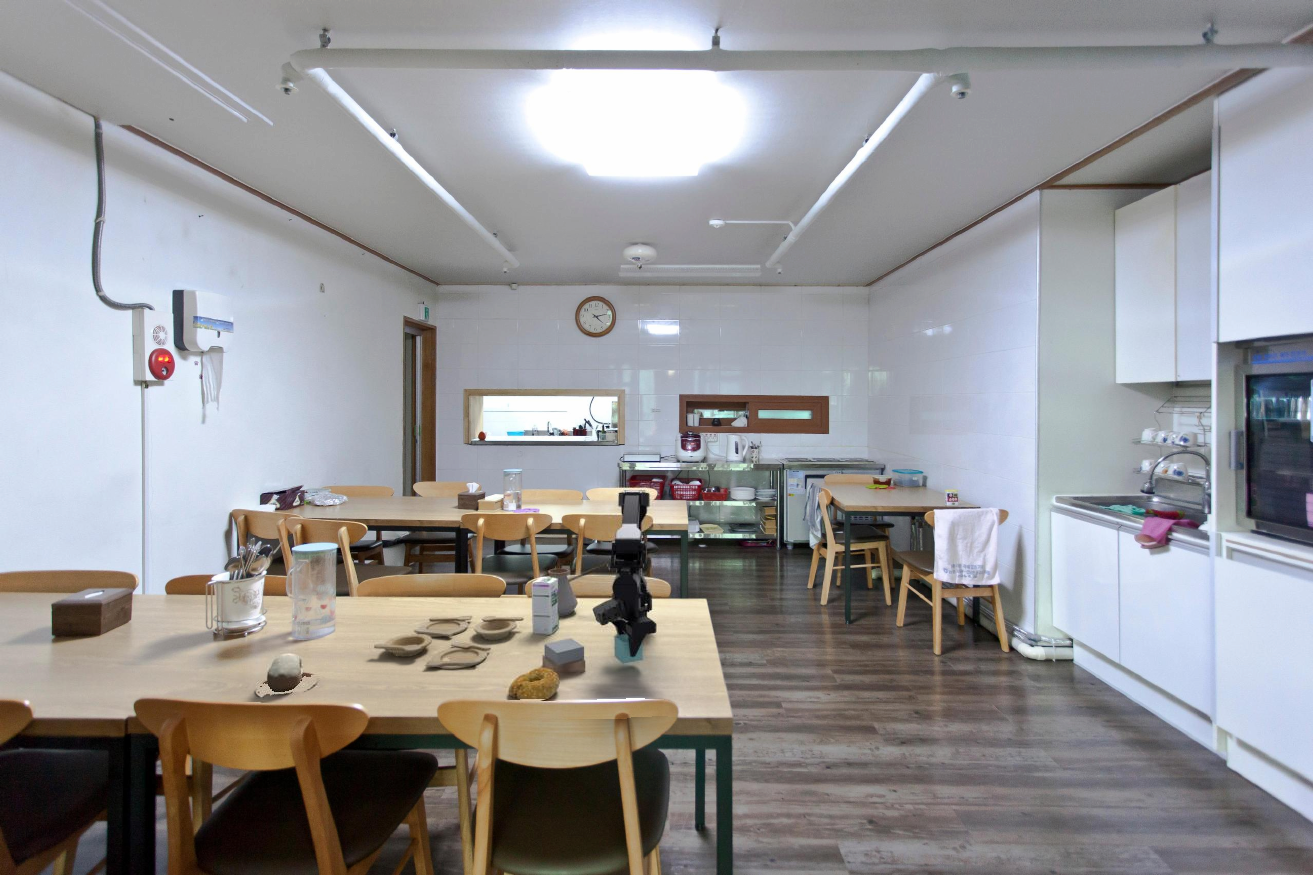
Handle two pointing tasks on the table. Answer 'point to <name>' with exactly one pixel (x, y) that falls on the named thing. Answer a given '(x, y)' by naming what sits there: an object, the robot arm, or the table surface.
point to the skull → (285, 673)
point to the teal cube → (625, 650)
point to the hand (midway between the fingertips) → (628, 652)
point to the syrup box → (545, 605)
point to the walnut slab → (565, 666)
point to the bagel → (535, 684)
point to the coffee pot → (568, 588)
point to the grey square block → (564, 651)
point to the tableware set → (462, 652)
